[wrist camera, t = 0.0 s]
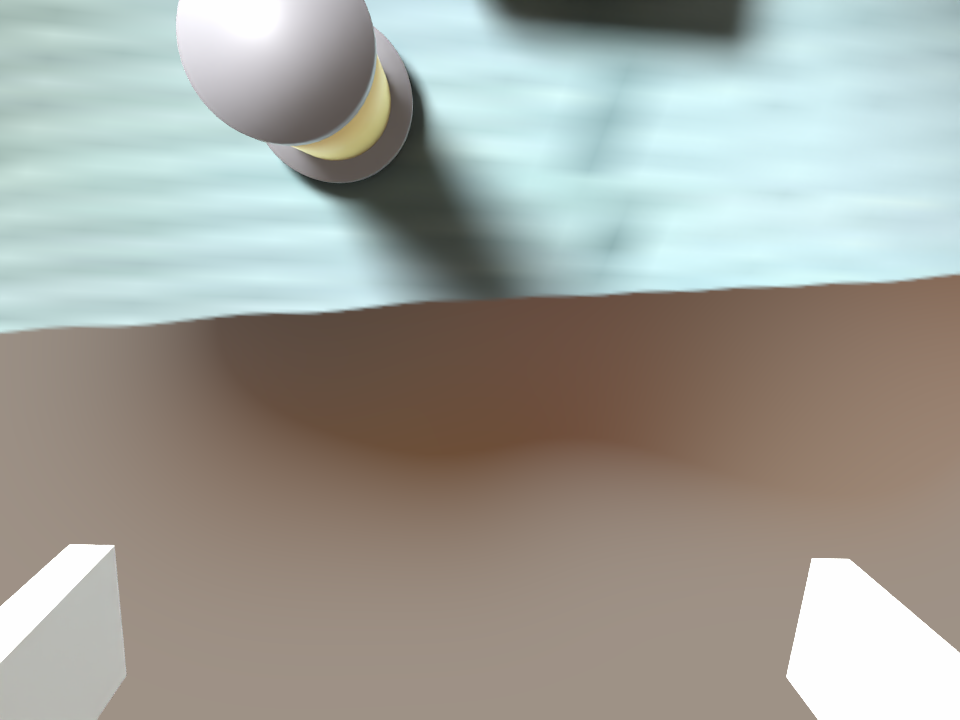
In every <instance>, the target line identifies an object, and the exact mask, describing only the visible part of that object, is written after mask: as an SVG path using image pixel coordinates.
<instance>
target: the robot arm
mask: <svg viewBox="0 0 960 720" xmlns="http://www.w3.org/2000/svg"><path fill="white" fill-rule="evenodd" d="M126 676H127V674H126V664H125V653H124V642H123V632H122V621H121V611H120V600H119V589H118V578H117V567H116V558H115V547H114V545H112V546H111V545H69V546H68V547H66V549H64V550H63V551H62V552H61V553H60V554H59V555H58V556H56V558H54V559H53V560H52V561H51V562H50V563H49V564H47V565H46V566H45V567H44V568H43V569H42V570H41V571H40V572H39V573H38V574H36V575H35V576H34V577H33V578H32V579H31V580H30V581H29V582H28V583H26V584H25V585H24V586H23V587H22V588H21V589H20V590H19V591H17V592H16V593H15V594H14V595H13V596H12V597H11V598H10V599H9V600H7V601H6V602H5V603H4V604H3V605H2V606H1V607H0V720H97V718H98V717H99V715H100V714H101V713H102V711H103V710H104V708H105V707H106V705H107V704H108V702H109V701H110V699H111V698H112V696H113V695H114V693H115V692H116V690H117V689H118V687H119V686H120V684H121V683H122V681H123V680H124V678H125V677H126ZM787 678H788V680H789V681H790V682H791V684H792V685H793V686H794V688H795V689H796V690H797V691H798V693H799V694H800V696H801V697H802V698H803V700H804V701H805V702H806V704H807V705H808V707H809V708H810V709H811V711H812V712H813V713H814V714H815V716H816V717H817V719H818V720H960V653H959V652H958V651H957V650H955V649H954V648H953V647H952V646H951V645H950V644H948V643H947V642H946V641H945V640H944V639H942V638H941V637H940V636H939V635H938V634H937V633H935V632H934V631H933V630H932V629H930V628H929V627H928V626H927V625H926V624H925V623H924V622H922V621H921V620H920V619H919V618H918V617H916V616H915V615H914V614H913V613H912V612H911V611H910V610H908V609H907V608H906V607H905V606H904V605H902V604H901V603H900V602H899V601H898V600H897V599H895V598H894V597H893V596H892V595H891V594H889V593H888V592H887V591H886V590H885V589H883V588H882V587H881V586H880V585H879V584H878V583H876V582H875V581H874V580H873V579H872V578H871V577H869V576H868V575H867V574H866V573H865V572H864V571H862V570H861V569H860V568H859V567H858V566H857V565H855V564H854V563H853V562H852V561H851V560H849V559H817V558H812V561H811V566H810V570H809V575H808V579H807V584H806V589H805V594H804V598H803V603H802V608H801V612H800V617H799V621H798V626H797V630H796V635H795V640H794V644H793V649H792V654H791V658H790V663H789V667H788V672H787Z"/></svg>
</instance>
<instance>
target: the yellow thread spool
mask: <svg viewBox="0 0 960 720" xmlns="http://www.w3.org/2000/svg"><path fill="white" fill-rule="evenodd" d="M176 35H177V44H178V50H179V54H180V58H181V62H182V64H183V67H184V70H185V73H186V75H187V77H188V79H189V81H190V83H191V85H192V87H193V88H194V90H195V91H196V93H197V94H198V96H199V97H200V99H201V100H202V101H203V102H204V104H205V105H206V106H207V107H208V108H209V109H210V110H211V111H212V112H213V113H214V114H215V115H216V116H217V117H218V118H219V119H221V120H222V121H223V122H225V123H226V124H227V125H229V126H230V127H232V128H234V129H235V130H237V131H239V132H241V133H243V134H245V135H247V136H250V137H252V138H255V139H257V140H260V141H263V142H266V143H267V145H268V146H269V147H270V149H271V150H272V151H273V152H274V153H275V155H276V156H277V157H278V158H280V159H281V160H282V161H283V162H284V163H285V164H287V165H288V166H289V167H291V168H292V169H294V170H295V171H297V172H299V173H301V174H303V175H305V176H308V177H310V178H313V179H317V180H320V181H324V182H330V183H350V182H356V181H359V180H363V179H366V178H368V177H370V176H373V175H374V174H376V173H378V172H379V171H381V170H382V169H384V168H385V167H386V166H387V165H388V164H389V163H390V162H391V161H392V160H393V159H394V158H395V157H396V156H397V154H398V153H399V151H400V150H401V149H402V147H403V145H404V143H405V141H406V139H407V136H408V133H409V130H410V127H411V122H412V115H413V96H412V90H411V84H410V81H409V77H408V73H407V71H406V68H405V66H404V63H403V61H402V59H401V57H400V56H399V54H398V52H397V51H396V49H395V48H394V46H393V45H392V44H391V42H390V41H389V40H388V39H387V38H386V37H385V36H384V35H383V34H382V33H381V32H380V31H379V30H377V29H376V28H375V27H374V26H373V24H372V20H371V17H370V14H369V11H368V8H367V6H366V4H365V1H364V0H179V3H178V10H177V17H176Z"/></svg>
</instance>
